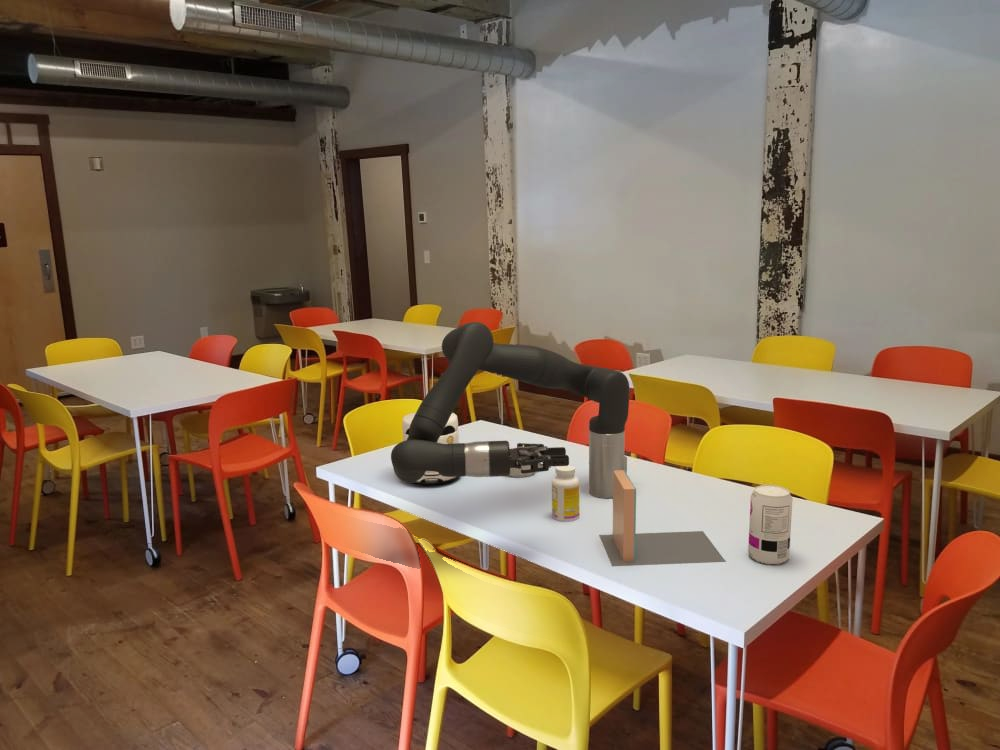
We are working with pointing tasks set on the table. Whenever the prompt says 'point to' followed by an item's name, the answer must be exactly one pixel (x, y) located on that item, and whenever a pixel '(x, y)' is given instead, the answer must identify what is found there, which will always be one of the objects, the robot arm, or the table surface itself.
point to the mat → (665, 549)
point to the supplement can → (770, 524)
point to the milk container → (447, 437)
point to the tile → (624, 515)
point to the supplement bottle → (565, 494)
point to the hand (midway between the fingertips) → (566, 456)
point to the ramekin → (518, 473)
